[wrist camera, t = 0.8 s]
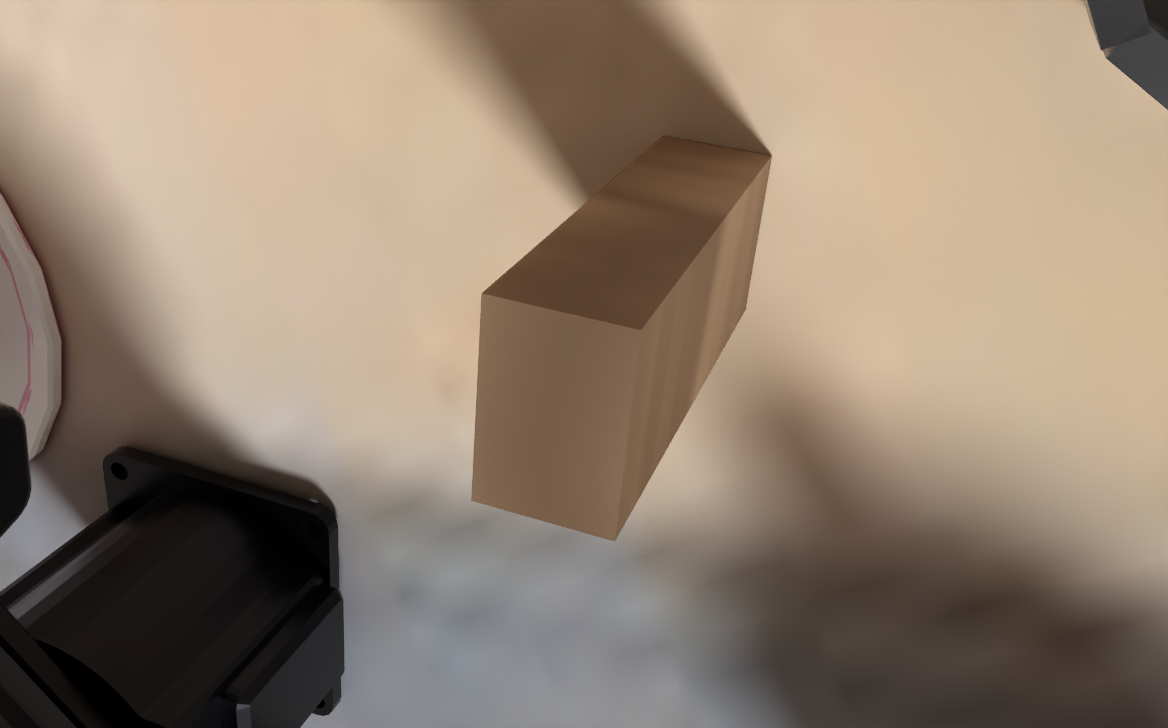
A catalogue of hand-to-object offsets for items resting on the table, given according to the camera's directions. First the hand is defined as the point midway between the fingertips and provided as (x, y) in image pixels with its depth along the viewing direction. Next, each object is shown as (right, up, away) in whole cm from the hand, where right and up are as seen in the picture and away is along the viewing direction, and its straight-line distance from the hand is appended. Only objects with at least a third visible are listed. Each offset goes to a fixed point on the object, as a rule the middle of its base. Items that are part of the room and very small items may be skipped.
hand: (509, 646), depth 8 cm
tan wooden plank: (+3, +5, +12) cm, 13 cm away
